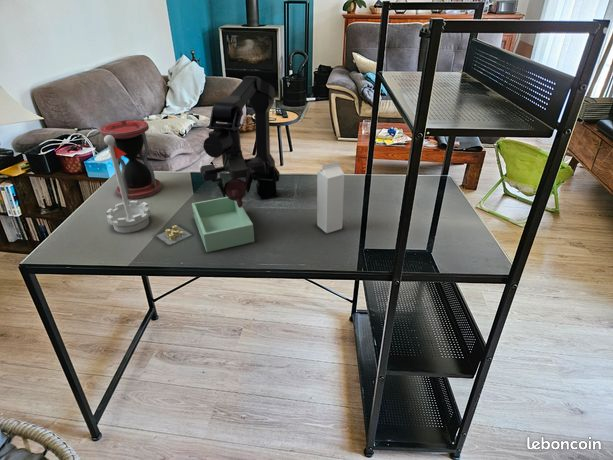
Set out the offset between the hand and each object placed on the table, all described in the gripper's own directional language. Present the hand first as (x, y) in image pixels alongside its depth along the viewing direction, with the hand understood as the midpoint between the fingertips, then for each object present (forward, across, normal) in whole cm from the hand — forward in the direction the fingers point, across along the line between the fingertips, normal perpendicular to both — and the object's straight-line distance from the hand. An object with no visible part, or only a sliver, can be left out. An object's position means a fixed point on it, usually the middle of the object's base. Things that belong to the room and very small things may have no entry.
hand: (236, 194), depth 126 cm
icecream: (+2, 0, 0) cm, 2 cm away
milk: (+12, +26, -12) cm, 31 cm away
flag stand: (+12, -32, +17) cm, 38 cm away
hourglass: (+12, -28, +44) cm, 53 cm away
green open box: (+12, -5, 0) cm, 13 cm away
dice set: (+12, -20, +4) cm, 24 cm away
